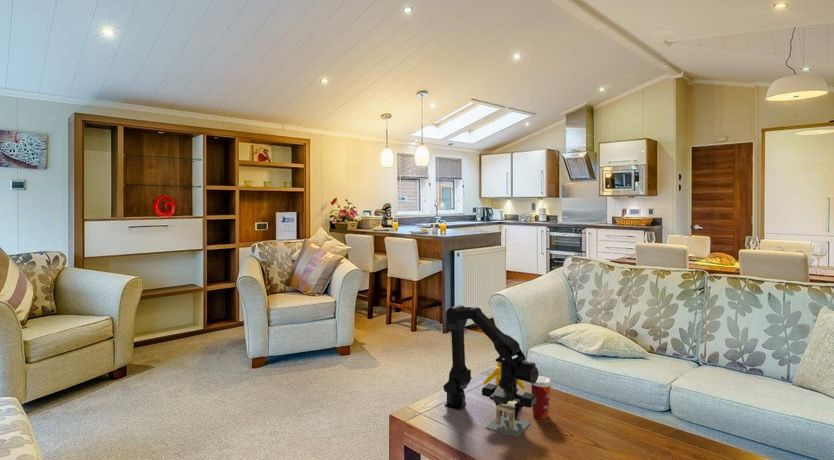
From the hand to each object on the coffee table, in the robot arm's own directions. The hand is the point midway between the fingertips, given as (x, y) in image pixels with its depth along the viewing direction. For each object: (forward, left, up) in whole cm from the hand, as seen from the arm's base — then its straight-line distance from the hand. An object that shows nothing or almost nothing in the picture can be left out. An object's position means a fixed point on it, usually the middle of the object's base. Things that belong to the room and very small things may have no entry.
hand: (508, 418), depth 164 cm
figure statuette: (-13, +26, -3) cm, 29 cm away
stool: (0, 0, -2) cm, 2 cm away
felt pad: (0, 0, -3) cm, 3 cm away
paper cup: (+7, +14, -3) cm, 16 cm away
